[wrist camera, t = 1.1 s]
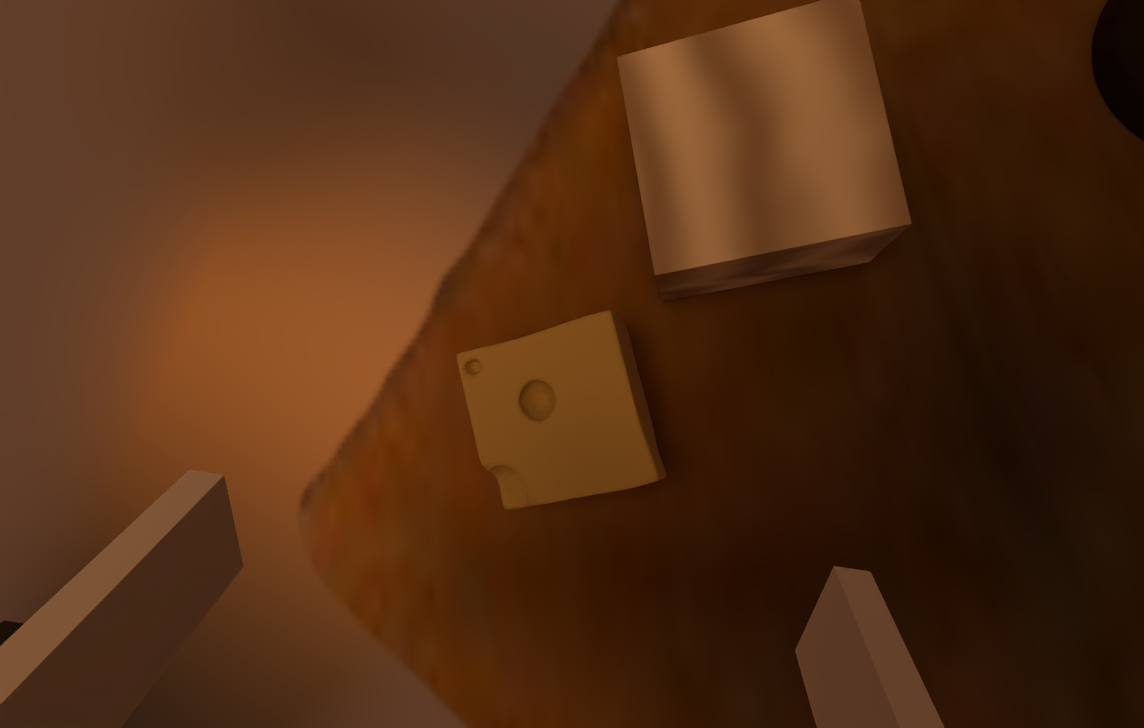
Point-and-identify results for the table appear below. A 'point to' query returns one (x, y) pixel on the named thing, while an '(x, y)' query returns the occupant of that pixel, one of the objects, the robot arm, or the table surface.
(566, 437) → the cheese
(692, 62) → the chevron patterned block
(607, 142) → the table surface
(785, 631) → the table surface
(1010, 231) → the table surface
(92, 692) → the robot arm
